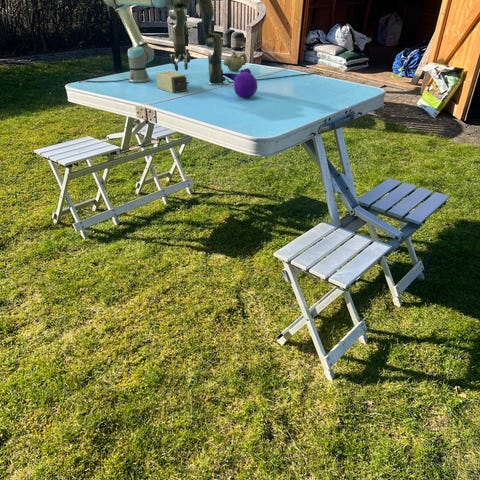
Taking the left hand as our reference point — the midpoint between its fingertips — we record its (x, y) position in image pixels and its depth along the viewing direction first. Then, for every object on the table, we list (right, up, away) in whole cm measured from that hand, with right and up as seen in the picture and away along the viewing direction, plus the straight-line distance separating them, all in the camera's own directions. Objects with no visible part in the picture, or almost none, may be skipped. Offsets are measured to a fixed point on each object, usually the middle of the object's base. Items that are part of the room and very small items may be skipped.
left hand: (183, 47), depth 332 cm
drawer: (-3, -39, -24) cm, 45 cm away
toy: (+43, -50, -42) cm, 78 cm away
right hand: (+3, -31, -37) cm, 48 cm away
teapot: (+38, -4, +35) cm, 52 cm away
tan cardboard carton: (-6, -38, -19) cm, 43 cm away
